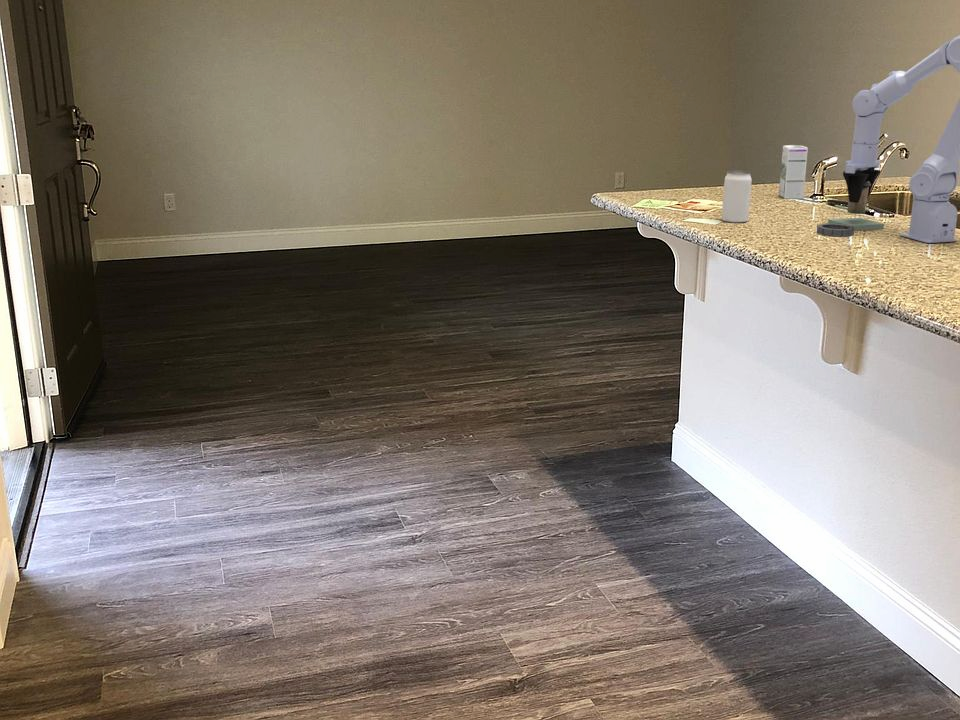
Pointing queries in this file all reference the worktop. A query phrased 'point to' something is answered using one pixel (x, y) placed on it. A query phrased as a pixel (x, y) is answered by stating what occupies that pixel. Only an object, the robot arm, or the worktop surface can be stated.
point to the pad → (858, 223)
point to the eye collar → (835, 230)
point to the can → (736, 197)
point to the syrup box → (793, 172)
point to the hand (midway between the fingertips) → (858, 201)
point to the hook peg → (861, 206)
